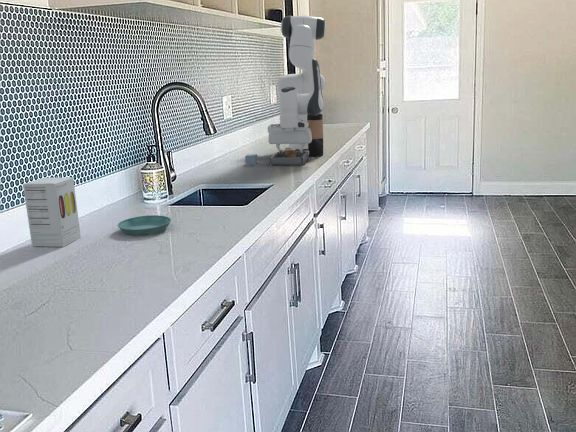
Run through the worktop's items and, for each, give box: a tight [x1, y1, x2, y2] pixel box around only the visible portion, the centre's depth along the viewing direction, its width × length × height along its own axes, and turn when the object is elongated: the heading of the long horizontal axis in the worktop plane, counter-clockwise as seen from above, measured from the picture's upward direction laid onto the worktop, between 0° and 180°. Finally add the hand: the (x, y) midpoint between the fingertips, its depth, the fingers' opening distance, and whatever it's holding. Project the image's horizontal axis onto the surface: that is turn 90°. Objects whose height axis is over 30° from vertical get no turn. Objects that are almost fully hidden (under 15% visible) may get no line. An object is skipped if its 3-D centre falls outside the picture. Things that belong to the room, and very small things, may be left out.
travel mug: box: [307, 113, 324, 158], centre depth 285 cm, size 8×8×20 cm
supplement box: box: [22, 176, 82, 248], centre depth 155 cm, size 10×9×17 cm
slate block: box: [244, 153, 258, 166], centre depth 269 cm, size 4×4×4 cm
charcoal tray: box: [269, 150, 309, 167], centre depth 271 cm, size 19×15×4 cm
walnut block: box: [284, 148, 297, 158], centre depth 274 cm, size 4×4×4 cm
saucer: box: [116, 214, 172, 236], centre depth 165 cm, size 15×15×3 cm
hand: (290, 153), depth 274 cm, fingers open, 8 cm apart
